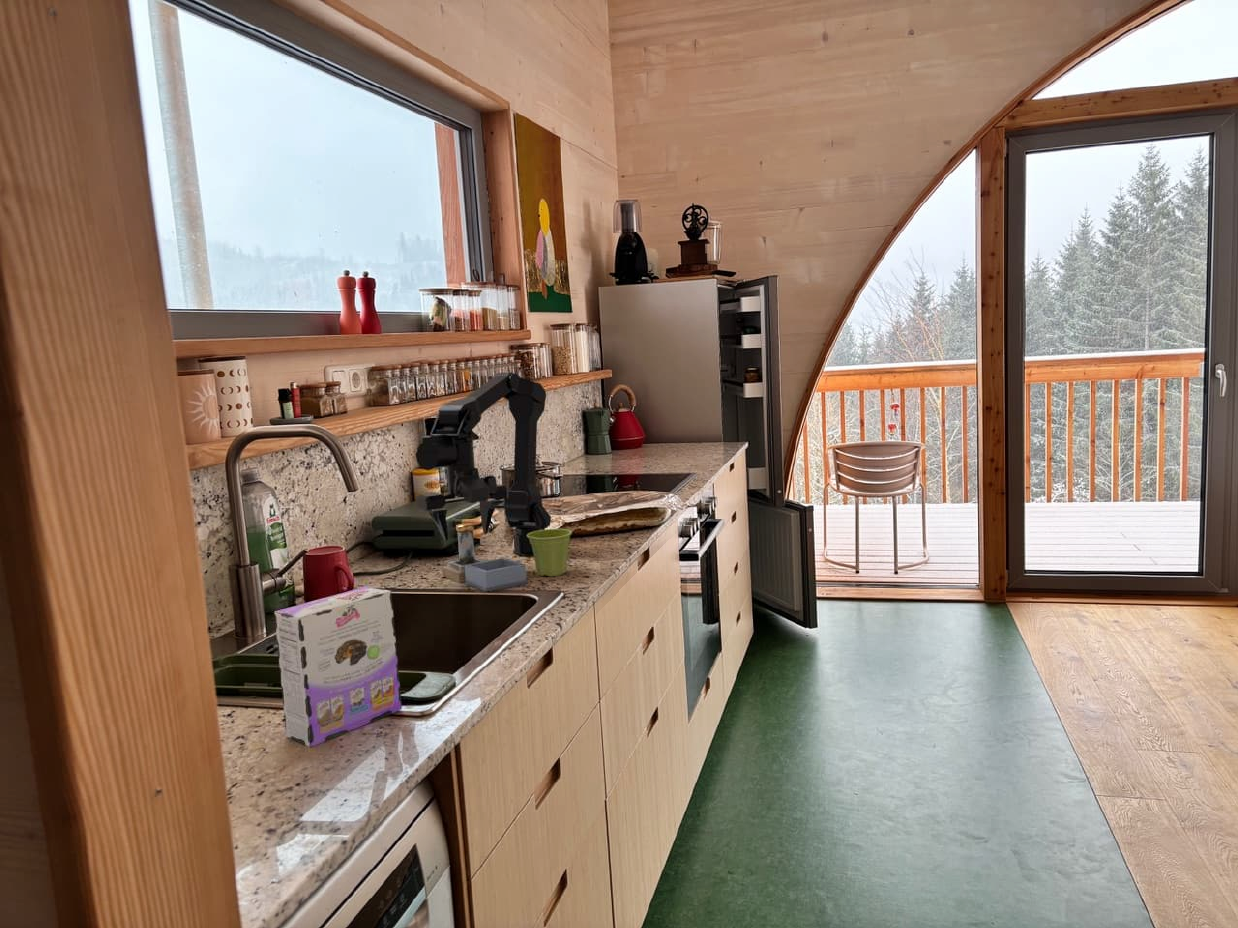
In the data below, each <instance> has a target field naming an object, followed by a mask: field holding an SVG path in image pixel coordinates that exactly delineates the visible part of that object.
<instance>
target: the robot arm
mask: <svg viewBox="0 0 1238 928" xmlns="http://www.w3.org/2000/svg"><path fill="white" fill-rule="evenodd" d="M546 398H547V391H546V389H545V388H544V387H543V386H542V383H539V382H535V381H533V380H530V379H527V378H524V377H521V376H519V375H518V374H517V373H514V372H498V373H496V374H494V375H493V377H492V378H491V379H489V380H488V381H487V382H485V383H484V384H482V385H481V386H480V387H478V388H477V389H475V390H474V391H473V392H471V393H470V394H468V395H467V396H465V397H462V398H458V399H456V400H451V401H449V402H447V403H444V404H442V405H441V406H440V408H439V409H438V413H437V416H436V418H435V420H434V423H433V427H432V429H431V431H430V433H429V435H424V436H422V442H421V443H420V444H419V445H418V447H417V449H416V453H415V459H416V461H417V464H418V465H419V467H420V468H421V469H423V470H424V471H430V470H431V471H432V470H436V469H443V468H444V474H446V475H447V486H448V487H446V488H445V490H446V492H445V493H446V494H443V493H440V492H436V491H434V492H433V491H432V492H426V493H420V494H418V495H417V497H416V500H415V501H416V508H418V509H422V510H423V512H426V513H428V514H429V516H430V517H431V519H432V520H433V521H434V523H435V525H436V527H437V529H438V531H439V533H440V535H441V537H442V539H443V541H445V542H446V541H448V539H449V534H448V533H449V532H448V526H447V518H446V517H447V516H446V515H447V513H448V509H446V508H444V507H445V506H446V504H451V503H458V502H464V501H466V502H467V503H469V504H475V503H476V502H479V511H480V518H481V519H480V521H481V522H480V523H481V527H482V532H483V534H488V532H489V529H490V526H491V525H490V524H491V521H492V518H493V515H494V513H495V510H496V508H497V507H498V506H499V505H500V504H503V506H502V507H503V509H504V515H505V517H506V521H507V524H508V526H509V527H508V528H511V529H512V528H514V535H513V545H514V546H513V547H514V548H513V549H514V550H512V553H513V554H516V555H520V556H522V557H532V556H534V554H533V549H532V545H531V544H530V540H529V538H528V537H527V534H528V533H530V532H534V531H538V530H545V529H548V527H550V526H551V521H552V516H551V515H550V513H548V511H547V510H546V509H545V507H544V506H543V499H542V494H541V492H540V490H539V489H538V486H537V485H536V474H537V473H536V470H537V469H536V466H537V465H536V462H537V439H538V437H537V436H538V435H537V433H538V432H537V430H538V429H537V428H538V421H539V419H540V417H541V416H542V414H543V413H544V412H545V406H546ZM501 399H505V400H506V401H508V410H509V412H510V414H511V415H512V417H513V419H514V421H515V422H514V424H515V425H514V427H515V428H514V451H513V452H514V456H513V459H514V460H513V461H514V462H513V483H512V486H510V488H509V489H508V488H507V486H506V485H503V484H500V483H497V479H496V477H495V476H494V475H485V476H484V477H480V475H479V473H480V472H479V469H478V467H476V466H475V453H474V441H477V440H479V439H480V436H479V434H477V433H476V432H474V431H473V429H475V428H476V426H477V425H478V424H479V423H480V422H481V421H482V415H483V413H484V412H485V411H487V410H488V409H490V408H491V407H492V406H494V405H495V404H496V403H497V402H499V401H501Z"/></svg>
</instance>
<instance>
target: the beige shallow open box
mask: <svg viewBox="0 0 1238 928" xmlns="http://www.w3.org/2000/svg"><path fill="white" fill-rule="evenodd" d="M483 561H484V560H482V559H479V558H476V557H475V563H478V562H483ZM447 563H448V565H446V566H442V569H441V571H442V577H444V578H447V579H449V580H452V581H454V582H456V583H466V576H465V565H463V566H462V565H460V560H454V561H448V562H447Z"/></svg>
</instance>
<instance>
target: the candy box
mask: <svg viewBox="0 0 1238 928" xmlns="http://www.w3.org/2000/svg"><path fill="white" fill-rule="evenodd" d="M392 597H393V596H392V590H388V589H384V588H377V587H373V586H368V585H366V586H365V585H364V586H362V587H358V588H355V589H352V590H348V591H345V592H342V593H337V594H335V595H334V594H333V595H330V596H327V597H323V598H319V599H316V600H312V601H309V602H305V603H302V604H297V605H294V606H290V607H287V608H283V609H279V610H275V611H274V622H275V633H276V643H277V652H278V654H277V656H278V665H279V675H280V685H281V694H282V697H281V698H282V704H283V705H282V706H283V716H284V717H283V718H284V726H285V727H284V728H285V736H286V737H287V738H289V739H291V740H293V741H295V742H298V743H300V744H302V745H304V746H305V747H308V748H311V747H315V746H318V745H320V744H322V743H325V742H327V741H329V740H332V739H334V738H336V737H339V736H341V735H344V734H346V733H348V732H350V731H353V730H355V729H358V728H361V727H363V726H365V725H367V724H370V723H372V722H375V721H377V720H379V719H382V718H384V717H387V716H389V715H392V714H394V713H396V712H399V711H400V710H402V708H403V704H402V694H401V693H402V692H401V684H400V683H401V682H400V672H399V664H398V651H397V644H396V643H397V640H396V630H395V619H394V617H395V616H394V609H393V608H394V607H393V600H392V599H393V598H392Z"/></svg>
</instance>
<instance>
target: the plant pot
mask: <svg viewBox="0 0 1238 928" xmlns="http://www.w3.org/2000/svg"><path fill="white" fill-rule="evenodd" d="M572 534H573V532H572V530H570V529H565V528H549V529H548V528H545V530H538V531H534V532H530V533H528V534H527V537H528V538H529V540H530V544H531V545H532V549H533V554H534V555H533V558H534V564H535V567H536V568H535V569H536V574H537V575H538V576H540V577H544V576H548V577H555V576H556V577H557V576H561V575H564V573H567V567H568V553H569V542H570V539H571V535H572Z"/></svg>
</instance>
